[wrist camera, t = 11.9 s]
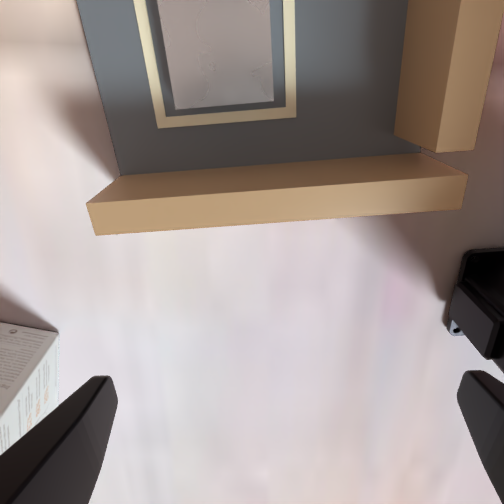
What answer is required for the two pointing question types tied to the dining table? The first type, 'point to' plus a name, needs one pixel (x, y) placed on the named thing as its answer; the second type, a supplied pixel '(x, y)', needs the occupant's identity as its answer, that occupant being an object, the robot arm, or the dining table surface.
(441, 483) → the dining table surface
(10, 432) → the small box
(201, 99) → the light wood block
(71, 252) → the dining table surface
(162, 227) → the corner tray
